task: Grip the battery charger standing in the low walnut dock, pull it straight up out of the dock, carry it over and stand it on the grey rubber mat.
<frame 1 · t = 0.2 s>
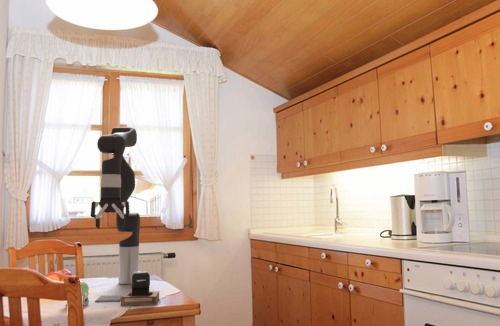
hand: (110, 228, 175), 28 cm above the table, tool pointing down, fingers open, 8 cm apart
frog: (77, 305, 172), on the table
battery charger: (140, 302, 175), resting in dock
dock: (140, 302, 176), on the table
mat: (109, 299, 181), on the table
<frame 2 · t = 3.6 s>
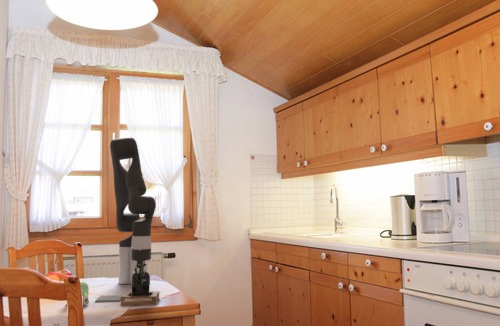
hand: (140, 291, 176), 4 cm above the table, tool pointing down, fingers closed on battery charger, 4 cm apart
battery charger: (140, 302, 176), resting in dock, touching gripper
everything else where it was.
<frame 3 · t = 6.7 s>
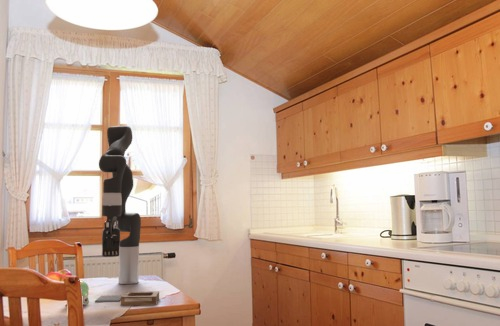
hand: (111, 246, 182), 21 cm above the table, tool pointing down, fingers closed on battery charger, 4 cm apart
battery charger: (110, 257, 182), point 17 cm above the table, touching gripper
everything else where it was.
when the fingers open (6 cm above the table, at t = 10.1 s): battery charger drops 1 cm, resting on mat.
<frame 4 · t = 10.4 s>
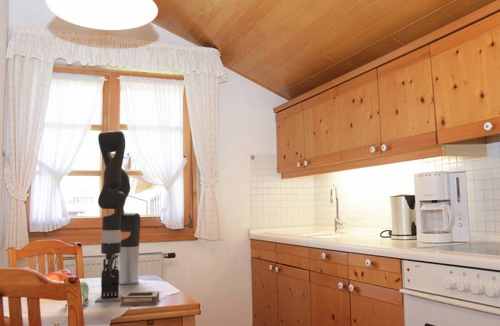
hand: (110, 283, 181), 6 cm above the table, tool pointing down, fingers open, 6 cm apart
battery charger: (109, 298, 181), resting on mat
everything else where it was.
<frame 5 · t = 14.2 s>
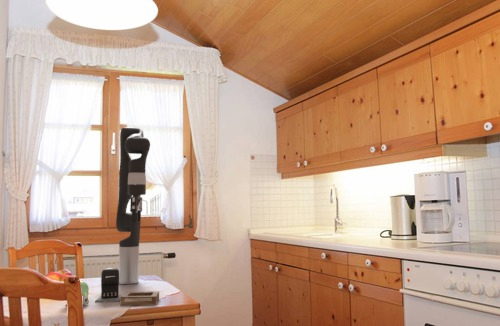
hand: (136, 221, 194), 30 cm above the table, tool pointing down, fingers open, 8 cm apart
nothing on the table moved.
at the end: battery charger 0.1 cm from the mat (horizontally); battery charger tilted 0°; the gripper is holding nothing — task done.
